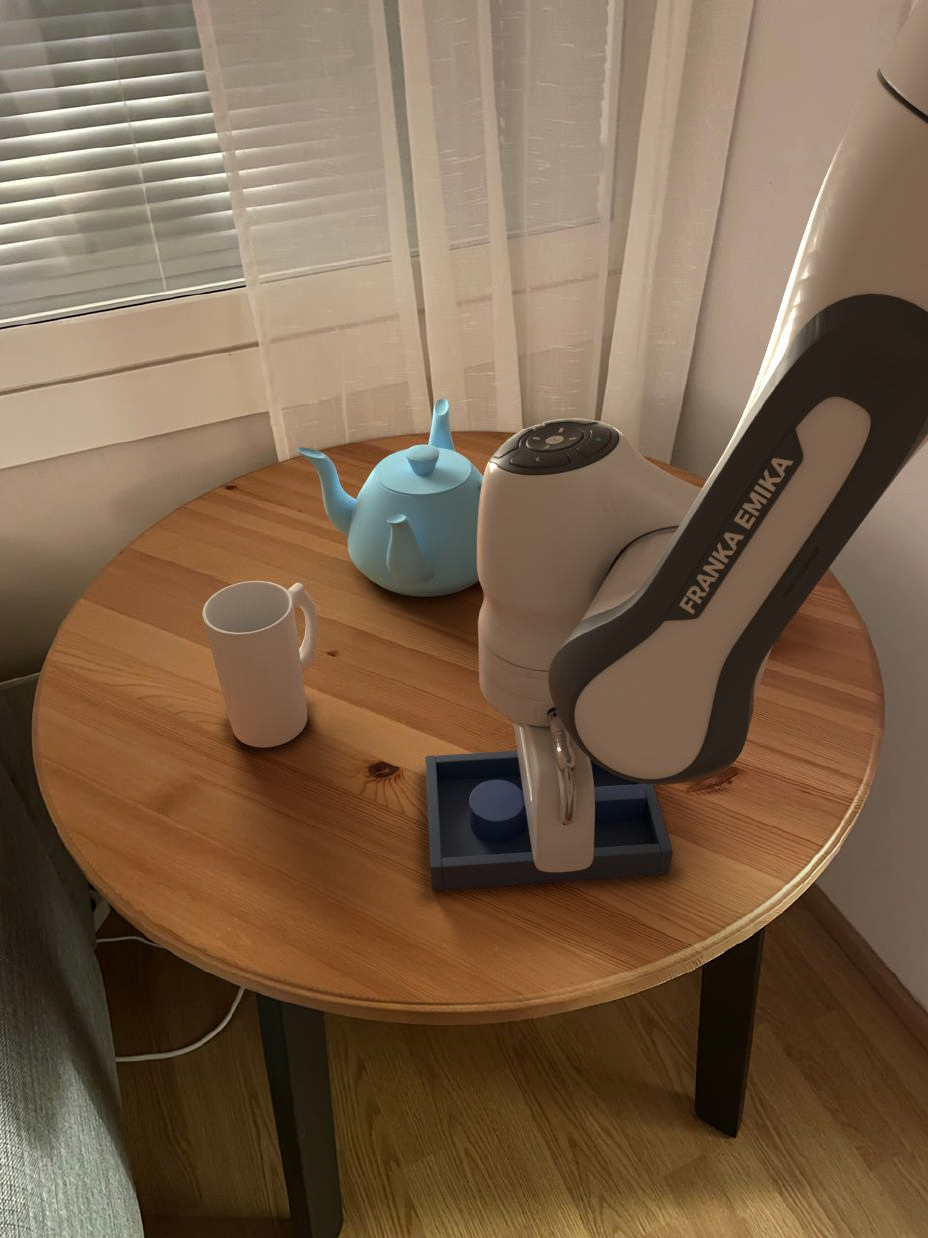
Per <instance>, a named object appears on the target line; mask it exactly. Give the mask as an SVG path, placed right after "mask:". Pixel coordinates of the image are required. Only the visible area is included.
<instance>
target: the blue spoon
mask: <svg viewBox="0 0 928 1238" xmlns="http://www.w3.org/2000/svg"><path fill="white" fill-rule="evenodd" d="M594 794H595V823H606V822H622V821H639V820H644V813H645V805H646V795H645V791H644V788H643V784H637V785H620V786H604V787H594ZM469 813H470V827H471V829H472V831H473V832H474V834H475V835H476V836H477V837H479V838H480V839H482V840H484V841H486V842H490V843H504V842H508V841H511V840H513V839H514V838H516V837H517V836H518V835H519V834H520V833H521V831H522V830H523V828H526V827H528V820H527V813H526V807H525V800H524V793H523V791H521V790H520V789H519V788H518V787H517V786H516V785H514V784H512V783H510V782H508V781H504V780H490V781H486V782H483V783H481V784H479V785H478V786H477V787H476V788H475V789H474V790H473V791H472V793H471V794H470V798H469Z"/></svg>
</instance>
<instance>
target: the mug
mask: <svg viewBox="0 0 928 1238" xmlns="http://www.w3.org/2000/svg"><path fill="white" fill-rule="evenodd" d="M298 607H299V608H300V609H301V610H302V612H303V615H304V618H305V631H304V637H303V640H302V642H301V645H300V646H299V637H298V629H297V622H296V614H295V609H296V608H298ZM202 619H203V621H204V627H205V631H206V636H207V639H208V644H209V647H210V651H211V655H212V659H213V662H214V666H215V669H216V674H217V679H218V681H219V685H220V689H221V693H222V697H223V701H224V704H225V709H226V713H227V716H228V717H227V718H228V720H229V723H230V727H231V730H232V732H233V735H234V736H235V737H236V739H237V740H238V741H240V742H241V743H243V744H245V745H247V746H250V747H254V748H273V747H278V746H282V745H284V744H286V743H288V742H291V741H292V740H293V739H295V738H296V737H297V736H299V735H300V734H301V733H302V732H303V730H304V728H305V727H306V725H307V722H308V708H307V698H306V691H305V690H306V689H305V683H304V677H303V674H304V673H305V672H306V671H307V670H309V669H310V668H311V667H313V665H314V664H315V659H316V651H317V644H318V637H319V636H318V635H319V615H318V610H317V607H316V604H315V603H314V601H313V599H312V598H311V595H309V594H308V592H307V591H306V587H305V585H303V584H302V583H300V582H295V583H294V584H293V585H292V586H291V587H289V588H288V589H286V587H283V586H282V585H280V584H277V583H274V582H271V581H266V580H265V581H264V580H250V581H243V582H238V583H235V584H231V585H228V586H226V587H224V588H222V589H220V590H219V591H217V592H215V593H214V594H213V595H211V597H209V599H207V601H206V602H205V604H204V605H203V609H202Z"/></svg>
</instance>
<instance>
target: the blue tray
mask: <svg viewBox="0 0 928 1238" xmlns="http://www.w3.org/2000/svg"><path fill="white" fill-rule="evenodd" d="M424 759H425V760H424V761H425V781H426V800H427V822H428V823H427V824H428V845H429V864H430V865H429V866H430V881H431V883H430V884H431V890H432V892H433V891H448V890H450V891H451V890H463V889H477V888H491V887H492V888H493V887H506V886H508V887H509V886H522V885H524V886H525V885H537V884H551V883H553V884H554V883H565V882H567V883H568V882H581V881H595V880H610V879H624V878H625V879H626V878H641V877H653V876H667V875H668V876H669V875H670V874H671V873H670V872H671V866H672V859H673V848H672V844H671V840H670V837H669V833H668V830H667V827H666V823H665V820H664V816H663V812H662V810H661V805H660V803H659V799H658V795H657V791H656V788H655V785H654V784H644V783H638V782H633V781H629V780H626V779H623V778H620V777H618V776H616V775H613V774H611V773H610V772H608V771H606V770H605V769H603V768H601V767H600V766H598V765H597V764H596V763H594V762H593V761H592V760H591V759H590V763H591V768H592V774H593V782H594V787H604V786H620V785H637V784H643V788H644V791H645V795H646V805H645V813H644V820H639V821H622V822H606V823H595V827H594V854H593V861H592V864H591V865H590V866H589V867H588V868H586V869H582V870H577V871H569V872H544V871H540V870H538V869H537V868H536V866H535V863H534V859H533V853H532V847H531V840H530V833H529V827H526V828H523V830H522V831H521V833H520V834H519V835H518V836H517V837H516V838H514V839H513V840H511V841H508V842H504V843H490V842H486V841H484V840H482V839H480V838H479V837H477V836H476V835H475V834H474V832H473V831H472V829H471V827H470V813H469V798H470V794H471V793H472V791H473V790H474V789H475V788H476V787H477V786H478V785H479V784H481V783H483V782H486V781H490V780H504V781H508V782H510V783H512V784H514V785H516V786H517V787H518V788H519V789H520V790H521V791H523V786H522V780H521V773H520V766H519V759H518V753H517V749H516V750H503V751H501V750H499V751H486V752H484V751H483V752H470V753H469V752H467V753H454V754H453V753H452V754H439V755H426V756H425V757H424Z"/></svg>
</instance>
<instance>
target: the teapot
mask: <svg viewBox="0 0 928 1238" xmlns="http://www.w3.org/2000/svg"><path fill="white" fill-rule="evenodd" d="M450 425H451V423H450V404H449V400H448V399H446V398H439V399H438V400H436V402H435V404H434V406H433V411H432V421H431V427H430V433H429V439H428V444H417V445H413V446H410V447H409V448H406V449H402V450H398V451H395V452H394V453H391V454H389V455H387V456H386V457H384V458H383V459H382V460H381V461H379V462H378V464H376V466H375V467H374V469H373V470H372V471H371V473H370V474H369V476H368V478H367V479H366V481H365V482H364V484H363V486H362V488H361V489H360V491H359V493H358V495H357V497H356V498H354V497H353V496H351V495H349V494H348V493H347V492H346V491H345V490H344V488H343V487H342V485H341V482H340V479H339V475H338V471H337V468H336V466H335V464H334V462H333V461H332V459H330V457H329V456H328V455H326V454H325V453H323V452H322V451H319V450H317V449H314V448H309V447H303V446H302V447H301V446H300V447H297V448H296V451H297V453H299V454H300V455H301V456H302V457H303V458H305V459H306V460H307V461H308V462H310V464H311V465H312V466H313V468H314V469H315V470H316V472H317V475H318V477H319V481H320V485H321V492H322V500H323V506H324V510H325V512H326V516H327V518H328V520H329V521H330V523H331V525H333V526H334V528H335V529H336V530H337V531H338V532H340V533H341V534H343V535H344V536H345V537H346V538H347V540H346V541H347V550H348V554H349V557H350V560H351V561H352V563H353V565H354V566H355V567H356V569H357V570H358V571H359V572H360V573H361V574H362V575H364V576H365V577H366V578H368V579H369V580H370V581H371V582H373V583H375V584H377V585H379V586H380V587H381V588H383V589H384V590H387V591H390V592H392V593H396V594H400V595H405V596H411V597H426V598H427V597H437V596H438V597H439V596H446V595H450V594H454V593H457V592H460V591H463V590H465V589H468V588H469V587H471V586H473V585H475V584H477V583H478V582H480V581H479V577H478V573H477V525H478V510H479V500H480V492H481V486H482V480H483V476H484V474H482V473H481V472H480V470H478V468H477V467H476V466H475V465H474V464H473V463H472V462H471V460H469V459H468V458H467V457H466V456H464V455H463V454H461V453H459V452H457V451H456V448H455V445H454V440H453V437H452V433H451V426H450Z"/></svg>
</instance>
